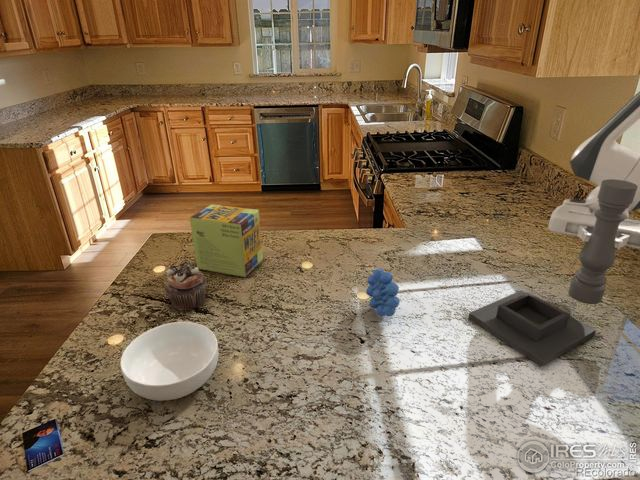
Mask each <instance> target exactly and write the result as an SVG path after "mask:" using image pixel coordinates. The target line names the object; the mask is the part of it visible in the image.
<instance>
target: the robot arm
mask: <svg viewBox="0 0 640 480" xmlns="http://www.w3.org/2000/svg"><path fill="white" fill-rule="evenodd" d="M639 120H640V91H638V92H637V93H636V94H635V95H634V96H633V97H632V98H631V99H629V101H627V102H626V103H625V104H624V105H623V106H622V107H621V108H620V109H619V110H618V111H617V112H616V113H615V114H614V115H613V116H612V117H611V118H610V119H609V120H608V121H607V122H606V123H604V125H602V126H601V127H600V128H599V129H598V130H597V131H596V132H595V133H594V134H593V135H591V136H590V137H588V138H587V139H586V140H584V141H583V142H582V143H581V144H580V145H578V147H577V148H576V149H575V150H574V152H573V153H572V155H571V158H570V160H569V164H570V168H571V171H572V173H573V175H574V176H575V177H577V178H580V179H583V180H585V181H587V182H591V183H594V184H595V185H597V186H596V187H594V188H593V189H592V190H591V191H590V193H588V195H587V197H586V199H581V198H579V199H578V198H577V199H576V198H566V199H565V198H564V200H563V201H562V204H561V205H558V206H557V207H556V208H555V209H554V210H553V211H552V212H551V215H550V218H549V221H548V226H547V230H548V231H550V232H552V233H558V234H562V235H563V234H564V235H567V236H568V235H569V236H573V237H578V238H579V239H580V240H581V243H584V244H586V243H587V242H588V241H589V239H590V237H591V234H592V232H593V229H594V226H595V223H596V216H595V215H594V212H595V211H596V210H597V209H600V207H599V203H598V200H599V199H598V198H597V197H598V193H599V190H600V186H601V183H602V181H603V180H608V179H614V180H623V181H627V182H631V183H634V184H636V185H637V186H638V187H637V190H636V193H635V196H634V199H633V202H632V204H630V206H629V207H628V208H627V209H626V210H625V211H624V212H623V213H624V214H625V216H626V219H625V220H624V221H622V222H621V223H620V224H619V227H618V230H617V233H616V236H615V246H614V248H615V250H618V251H620V250H621V248H622V247H629V248H633V249H639V250H640V220H638V219H632V218H629V216H630V215H629V213H630V212H635V211H637V210H640V153H638V152H637V151H634V150H633V149H631V148H628V147H626V146H624V145H622V144H620V143H618V142H617V140H618V139H619V138H620V137H622V136H623V135H624V133H626V132H627V131H628V130H629V129H630V128H631V127H632V126H633V125H634V124H636V123H637V122H638V121H639Z"/></svg>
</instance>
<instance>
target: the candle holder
mask: <svg viewBox="0 0 640 480" xmlns="http://www.w3.org/2000/svg"><path fill="white" fill-rule="evenodd" d="M637 187H638V186H637V185H636V184H634V183H631V182H627V181H623V180H614V179H608V180H603V181H602V183H601V186H600V190H599V193H598V197H597V198H598V199H599V200H598V203H599V207H600V209H597V210H596V211H595V212H594V215H595V216H596V223H595V226H594V229H593V232H592V234H591V237H590V239H589V241H588V242H587V243H584V245H583V247H582V249H581V250H580V251H579V254H578V258H579V262H580V264H581V265H580V268H579V269H578V270H576V271H575V272H574V276H573V277H572V278H571V281H570V285H569V288H568V292H567V293H568V295H569V297H570V298H571V299H572V300H575V301H576V302H579V303H582V304H587V305H598V304H600V303H601V302H602V300H603V297H604V295H605V291H606V288H607V286H606V283H607V281H608V280H607V278H606V276H605V275H606V274H605V273H606V272H607V270H609V269H610V268H611V267H612V266H613V264H615V261H616V249H615V248H614V246H615V236H616V233H617V230H618V227H619V224H620V223H621V222H622V221H624V220H625V219H626V216H625V214H624V213H623V212H624V211H625V210H626V209H627V208H628V207H629V206H630V204H632V202H633V199H634V196H635V193H636V190H637Z"/></svg>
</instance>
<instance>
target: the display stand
mask: <svg viewBox="0 0 640 480" xmlns="http://www.w3.org/2000/svg"><path fill="white" fill-rule="evenodd" d="M468 319H469V320H470V321H471V322H473V323H475V324H476V325H477V326H479V327H481V328H482V329H484V330H485V331H487V332H488V333H490V334H491V335H493V336H494V337H496V338H497V339H499V340H500V341H502V342H503V343H505V344H507V345H508V346H509V347H510V348H512V349H514V350H516V351H517V352H519V353H520V354H522V355H523V356H525V357H526V358H528V360H530V361H532V362H534V363H535V364H537V365H538V366H540V367H543V366H545V365H546V364H548V363H550V362H552V361H553V360H555V359H557V358H558V357H560V356H562V355H563V354H565V353H567V352H568V351H571V350H572V349H574V348H576V347H577V346H580V345H581V344H582V343H584V342H586V341H588V340H590V339H591V338H593V337H594V336H595V335H596V333H597V329H596V328H593V327H592V326H590V325H587V324H586V323H585V322H583V321H580V320H579V319H576V318H575V317H572V316H571V314H570V313H568V312H567V311H565V310H563V309H561V308H559V307H557V306H555V305H553V304H551V303H550V302H548V301H545V300H543V299H542V298H540V297H538V296H536V295H535V294H533V293H531V292H529V291H528V292H526V291H524V290H522V289H521V290H518V291H516V292H514V293H512V294H509V295H507V296H505V297H502V298H500V299H497V300H496V301H494V302H491V303H488V304H487V305H484V306H482V307H479V308H478V309H475V310H473V311H471V312H469V313H468Z"/></svg>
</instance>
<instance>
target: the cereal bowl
mask: <svg viewBox="0 0 640 480" xmlns="http://www.w3.org/2000/svg"><path fill="white" fill-rule="evenodd" d="M219 355H220V353H219V342H218V340H217V336H216V335H215V334H214V332H213V331H212V330H211V329H210V328H209V327H207V326H206V325H203V324H201V323H198V322H193V321H175V322H168V323H164V324H161V325H158V326H155V327H153V328H150V329H148V330H145V332H143V333H141V334H139V335H138V336H137V337H135V338H134V339H133V340H132V341H131V342H130V343H129V344H128V345H126V348H125V349H124V351H123V352H122V354H121V357H120V364H119V365H120V366H119V367H120V371H121V374H122V378H123V379H124V381H125V383H126V385H127V386H128V387H129V389H130V390H131V391H132V392H133V393H135V394H137V395H138V396H140V397H142V398H144V399H147V400H152V401H157V402H158V401H160V402H161V401H172V400H177V399H180V398H183V397H186V396H188V395H190V394H192V393H194V392H196V391H197V390H199V389H200V388H201V387H202V386H203V385H205V383H206V382H207V381H208V380H209V379H210V378H211V376H212V375H213V374H214V372H215V371H216V368H217V365H218V362H219Z"/></svg>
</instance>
